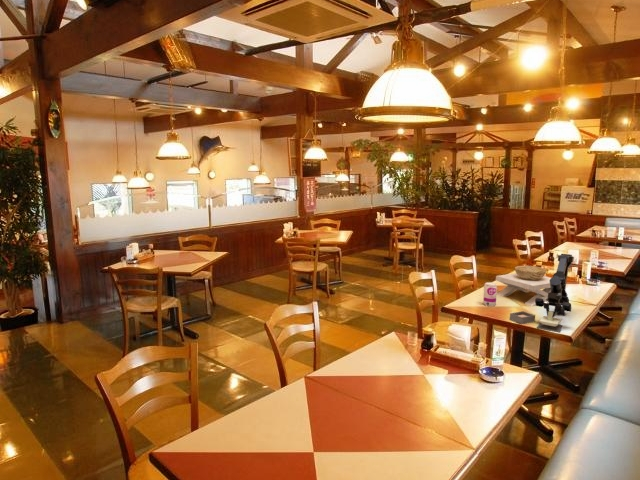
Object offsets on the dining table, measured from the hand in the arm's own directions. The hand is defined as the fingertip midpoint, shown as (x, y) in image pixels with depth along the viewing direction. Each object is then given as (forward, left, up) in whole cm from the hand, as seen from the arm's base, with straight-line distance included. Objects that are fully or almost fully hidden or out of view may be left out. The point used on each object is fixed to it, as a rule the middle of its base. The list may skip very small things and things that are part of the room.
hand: (550, 316), depth 253 cm
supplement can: (-27, -40, -7) cm, 49 cm away
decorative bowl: (-62, -21, -7) cm, 66 cm away
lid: (-1, 0, -3) cm, 3 cm away
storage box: (-4, -15, -6) cm, 17 cm away
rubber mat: (-1, 0, -6) cm, 7 cm away
